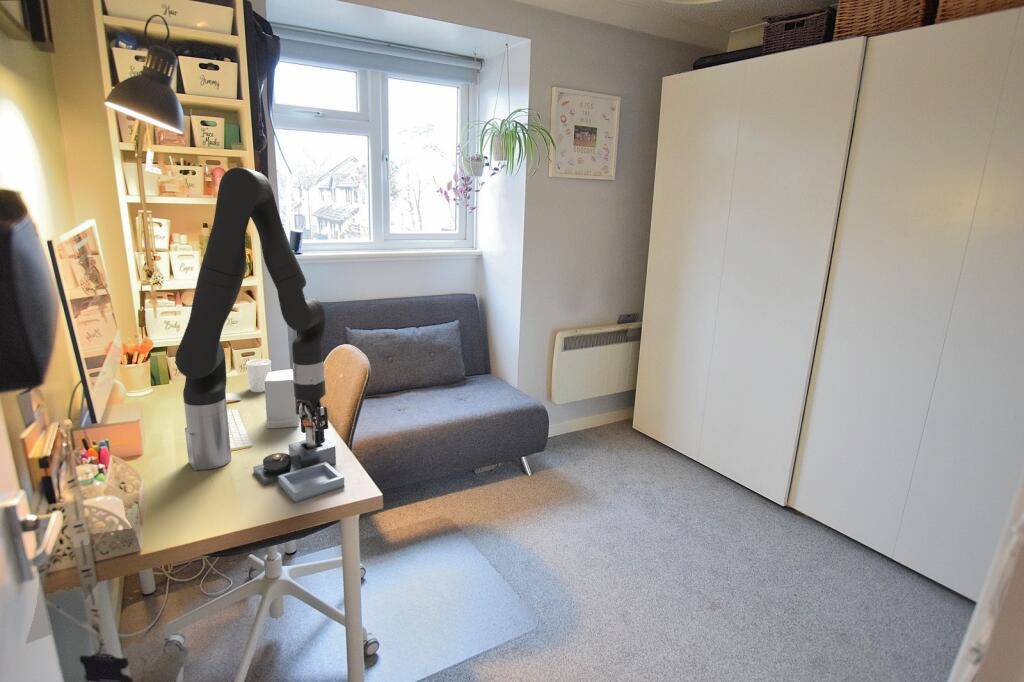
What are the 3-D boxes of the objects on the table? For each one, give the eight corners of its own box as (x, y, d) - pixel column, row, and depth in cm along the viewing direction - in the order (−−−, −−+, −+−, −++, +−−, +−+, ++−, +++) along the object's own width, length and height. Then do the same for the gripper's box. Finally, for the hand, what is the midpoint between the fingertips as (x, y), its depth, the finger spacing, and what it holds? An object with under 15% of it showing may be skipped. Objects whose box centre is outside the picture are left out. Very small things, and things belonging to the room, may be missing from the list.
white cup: (268, 383, 199) (266, 357, 196) (276, 390, 193) (274, 363, 191) (244, 388, 194) (242, 361, 191) (252, 394, 188) (250, 366, 186)
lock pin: (308, 467, 141) (306, 423, 138) (302, 462, 144) (300, 419, 141) (322, 463, 144) (321, 420, 141) (316, 458, 146) (314, 415, 143)
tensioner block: (265, 485, 132) (263, 466, 131) (253, 472, 138) (252, 454, 136) (336, 463, 144) (335, 446, 143) (322, 452, 150) (322, 435, 148)
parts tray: (295, 503, 125) (294, 493, 125) (278, 485, 132) (278, 475, 132) (344, 486, 133) (344, 477, 132) (326, 470, 140) (326, 461, 140)
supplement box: (299, 427, 165) (296, 379, 161) (266, 429, 162) (263, 381, 158) (301, 415, 173) (298, 370, 169) (270, 417, 170) (267, 371, 167)
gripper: (283, 373, 140) (287, 432, 145) (306, 389, 130) (310, 451, 135) (311, 368, 145) (315, 425, 150) (336, 382, 135) (339, 443, 140)
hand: (312, 437), depth 142 cm, fingers open, 8 cm apart
